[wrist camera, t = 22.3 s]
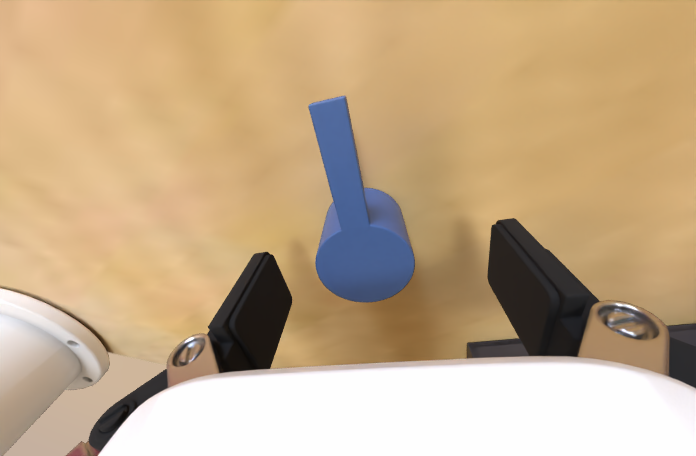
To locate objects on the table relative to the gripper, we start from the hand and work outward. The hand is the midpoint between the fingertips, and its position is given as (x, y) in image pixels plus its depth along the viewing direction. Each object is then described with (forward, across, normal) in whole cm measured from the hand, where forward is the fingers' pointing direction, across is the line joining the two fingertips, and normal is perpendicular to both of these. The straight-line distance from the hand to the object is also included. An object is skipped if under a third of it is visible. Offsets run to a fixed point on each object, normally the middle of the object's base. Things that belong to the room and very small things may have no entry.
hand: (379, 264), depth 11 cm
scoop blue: (+4, +1, -2) cm, 5 cm away
